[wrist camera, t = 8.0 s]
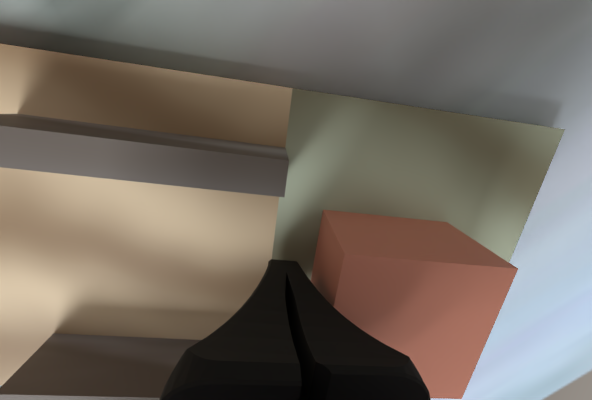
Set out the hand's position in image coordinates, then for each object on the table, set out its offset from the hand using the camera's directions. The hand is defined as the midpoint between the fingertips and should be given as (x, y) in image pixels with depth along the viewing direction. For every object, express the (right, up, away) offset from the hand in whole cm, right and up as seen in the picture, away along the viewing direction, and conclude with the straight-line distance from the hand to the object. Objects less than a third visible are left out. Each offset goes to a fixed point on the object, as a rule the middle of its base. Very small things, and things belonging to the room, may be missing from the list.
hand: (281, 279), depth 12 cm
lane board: (-3, +1, +1) cm, 3 cm away
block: (+4, 0, +1) cm, 5 cm away
